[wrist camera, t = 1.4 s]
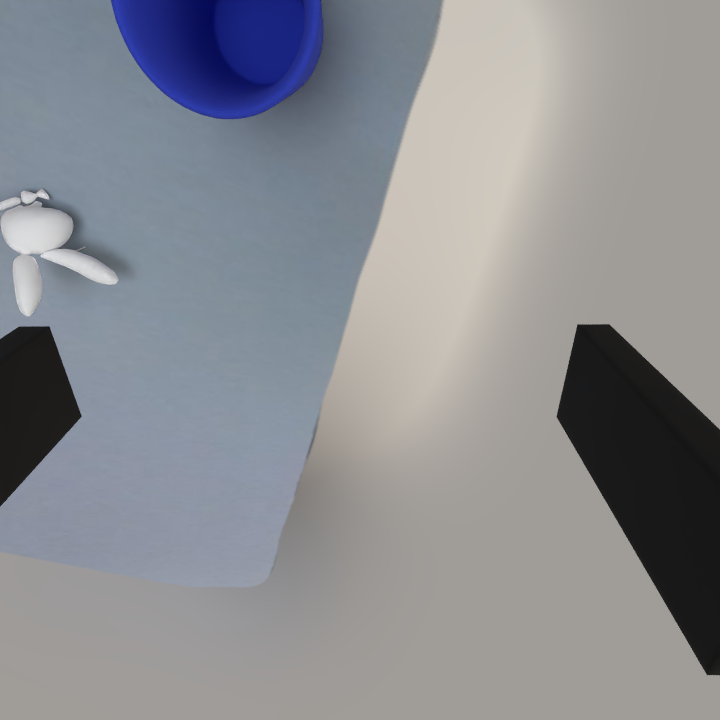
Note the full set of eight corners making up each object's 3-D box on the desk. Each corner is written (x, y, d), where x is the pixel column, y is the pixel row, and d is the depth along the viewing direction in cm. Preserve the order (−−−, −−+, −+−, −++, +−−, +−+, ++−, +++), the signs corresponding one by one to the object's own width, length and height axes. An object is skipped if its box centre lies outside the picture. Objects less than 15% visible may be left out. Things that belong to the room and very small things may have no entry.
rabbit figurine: (67, 168, 31) (118, 278, 31) (80, 198, 35) (126, 297, 34) (-39, 192, 29) (16, 311, 29) (-13, 221, 32) (35, 327, 32)
